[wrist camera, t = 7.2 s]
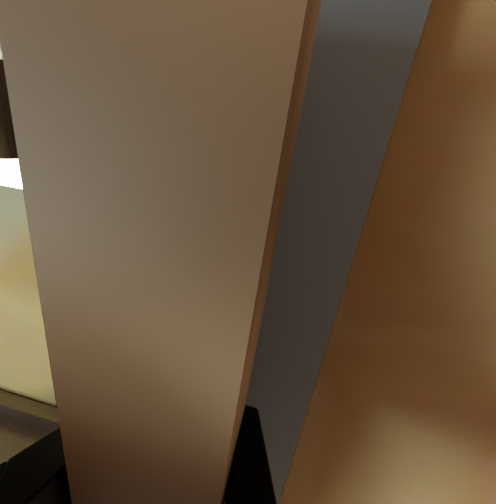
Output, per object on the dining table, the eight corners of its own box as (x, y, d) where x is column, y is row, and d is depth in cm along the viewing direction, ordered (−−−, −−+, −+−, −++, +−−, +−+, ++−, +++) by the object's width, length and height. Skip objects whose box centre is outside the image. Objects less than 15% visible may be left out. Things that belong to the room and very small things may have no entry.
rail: (211, 582, 11) (182, 719, 9) (147, 558, 12) (99, 681, 9) (323, -8, 4) (360, -299, 2) (155, -20, 5) (-48, -268, 2)
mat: (258, 560, 14) (256, 577, 13) (133, 515, 15) (127, 529, 14) (444, -71, 5) (461, -98, 5) (122, -81, 6) (105, -105, 6)
